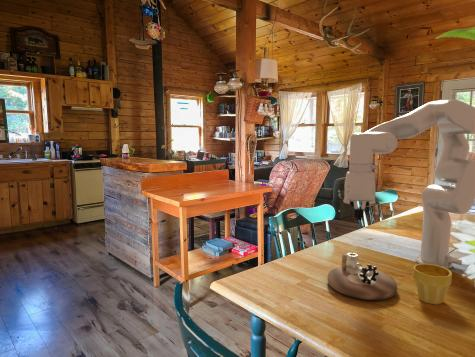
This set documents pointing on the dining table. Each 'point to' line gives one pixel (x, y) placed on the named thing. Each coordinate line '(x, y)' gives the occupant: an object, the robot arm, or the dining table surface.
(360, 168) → the robot arm
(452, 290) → the dining table surface
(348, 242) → the dining table surface
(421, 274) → the plant pot
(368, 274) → the valve
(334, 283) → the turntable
